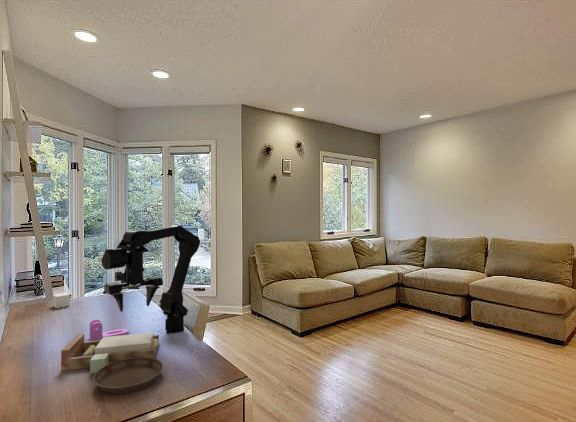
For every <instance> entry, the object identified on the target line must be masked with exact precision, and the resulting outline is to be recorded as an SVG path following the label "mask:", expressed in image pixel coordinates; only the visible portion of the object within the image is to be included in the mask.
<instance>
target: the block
mask: <svg viewBox="0 0 576 422" xmlns="http://www.w3.org/2000/svg"><path fill="white" fill-rule="evenodd" d="M93 355H94V356H93V357H92V358H91V360H90V367H89V373H90V374H96V372H97V371H99V370H100V369H101V368H103V367H105V366H106V365H109V353H106V354H96V355H95V354H93Z"/></svg>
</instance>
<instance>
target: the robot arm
mask: <svg viewBox="0 0 576 422" xmlns="http://www.w3.org/2000/svg"><path fill="white" fill-rule="evenodd" d="M170 237H173V238H174V239H175V241H176V242H178V253H179V256H178V260H177V262H176V266H175V270H174V273H173V275H172V276H173V277H172V279H171V283H170V285H169V289H168V290H167V291H166V292H165V291H163V292H162V294H161V298H160V300H159V307H160V310H161V311H163V315H165V316H166V318H165V324H164V326H165V331H166V332H165V333H166V334H175V333H184V332H185V331H184V330H185V325H184V324H185V320H184V319H185V316H188V313H189V309H188V308H187V307H186V306H184V295H183V288H184V286H185V281H186V278H187V275H188V271H189V268H190V264H191V261H192V257H194V255H195V254H196V253H197V252H198V251H199V247H200V245H201V239H200V237H199V236H198V235H195V234H194V233H193V232H191V231H189V230H188V229H186V228H185V227H183V226H182V225H177V224H175V225H170V226H165V227H160V228H154V229H148V230H127V231H126V232H124V234H123V235H122V239H121V241H119V243H118V244H117V247H116V248H113V249H111V248H106V249H105V250H104V252H103V256H102V258H101V265H102V267H103V268H104V270H113V269H119V268H120V269H121V268H124V267H125V268H124V272H122V271H116V272H114V281H115V282H111V283H110V282H109V283H106V284H104V288H103V292H104V293H105V294H108V295H110V296H112V297H113V298H114V299H115V301H116V305H117V307H118V308H119V311H120V312H121V313H122V312H123V311H124V293H123V292H122V291H123V290H126V289H133V288H139V287H145V289H146V296H145V297H146V300H145V301H146V304H145V305H146V306H147V307H149V306H150V305H151V302H152V300H153V297H154V296H155V293H156V292H157V290H158V289H160V287H161V286H163V285H164V280H163V278H162V277H159V276H150V277H146V279H144V272H145V268H144V253H148V252H149V251H150V250H149V249H148V248H147V247H146V246H145V245H148V244H149V243H150V242H153V241H155V240H157V241H158V240H162V239H165V238H170ZM119 282H120V283H119Z"/></svg>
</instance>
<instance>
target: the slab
mask: <svg viewBox="0 0 576 422" xmlns="http://www.w3.org/2000/svg"><path fill="white" fill-rule="evenodd" d="M154 335H155V334H154V332H145V333H144V332H143V333H135V334H128V335H121V336H110V337H103V338H102V340H101V341H100V342H99V344H98V345H97V346H96V348H95V352H94V355H96V354H106V353H109V354H112V353H121V352H131V351H141V350H150V348H151V345H152V342H153V340H154Z"/></svg>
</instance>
